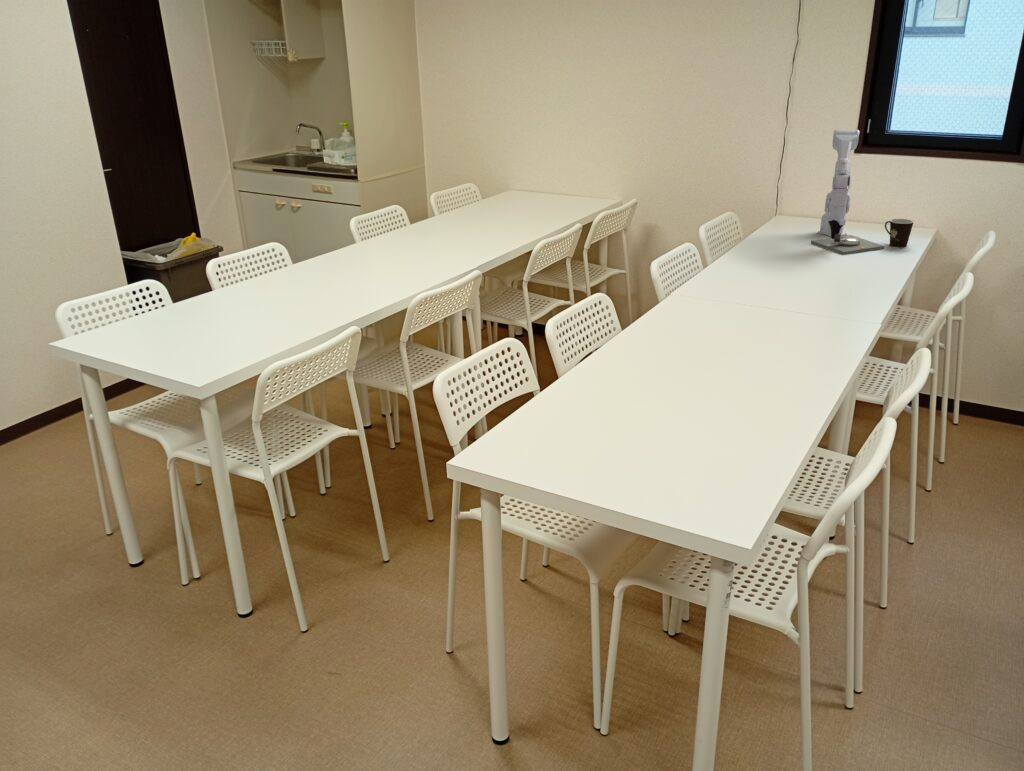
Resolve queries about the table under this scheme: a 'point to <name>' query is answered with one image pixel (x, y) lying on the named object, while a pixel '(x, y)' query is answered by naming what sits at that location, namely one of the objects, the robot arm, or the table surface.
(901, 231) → the coffee mug
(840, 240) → the dial
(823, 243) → the panel
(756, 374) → the table surface
